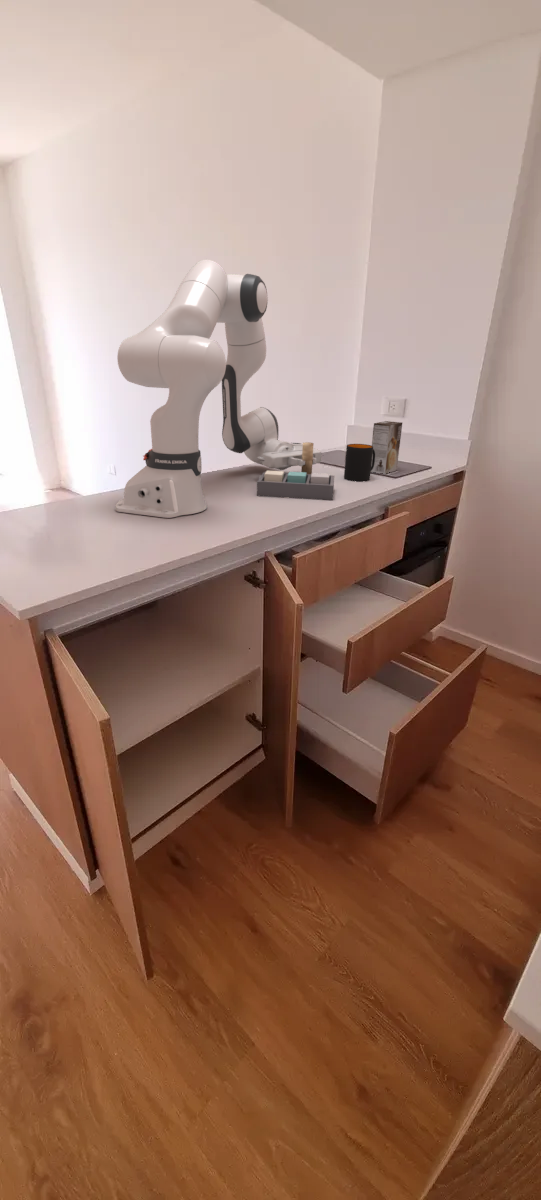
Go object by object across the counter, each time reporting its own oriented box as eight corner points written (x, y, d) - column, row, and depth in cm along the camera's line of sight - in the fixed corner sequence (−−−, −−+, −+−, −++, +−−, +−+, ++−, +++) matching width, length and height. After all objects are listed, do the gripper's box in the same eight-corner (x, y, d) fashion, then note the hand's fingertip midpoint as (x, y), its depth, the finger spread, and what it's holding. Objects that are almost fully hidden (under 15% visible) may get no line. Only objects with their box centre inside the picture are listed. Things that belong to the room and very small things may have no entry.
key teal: (287, 485, 146) (287, 475, 145) (288, 482, 151) (289, 471, 149) (304, 486, 146) (305, 476, 144) (306, 483, 150) (306, 472, 149)
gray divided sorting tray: (256, 495, 144) (257, 481, 143) (263, 485, 156) (263, 471, 154) (332, 500, 142) (333, 485, 140) (333, 489, 154) (334, 475, 152)
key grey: (310, 487, 145) (310, 476, 144) (311, 483, 150) (311, 472, 149) (328, 488, 145) (328, 477, 144) (328, 484, 149) (329, 473, 148)
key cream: (264, 484, 147) (264, 474, 145) (266, 480, 151) (266, 470, 150) (281, 485, 146) (282, 474, 145) (283, 481, 151) (284, 471, 149)
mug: (382, 478, 169) (386, 445, 165) (357, 482, 162) (361, 448, 158) (363, 473, 175) (366, 442, 171) (338, 478, 168) (341, 445, 164)
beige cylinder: (300, 484, 158) (302, 443, 153) (301, 482, 161) (303, 442, 156) (310, 484, 158) (313, 444, 153) (311, 482, 161) (313, 442, 156)
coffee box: (380, 468, 185) (385, 420, 178) (397, 470, 181) (403, 422, 174) (368, 472, 178) (373, 422, 171) (385, 474, 174) (391, 424, 168)
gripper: (254, 447, 159) (282, 454, 149) (304, 442, 170) (334, 448, 161) (253, 468, 162) (281, 476, 152) (303, 462, 173) (332, 469, 163)
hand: (309, 462), depth 156 cm, fingers closed on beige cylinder, 3 cm apart
